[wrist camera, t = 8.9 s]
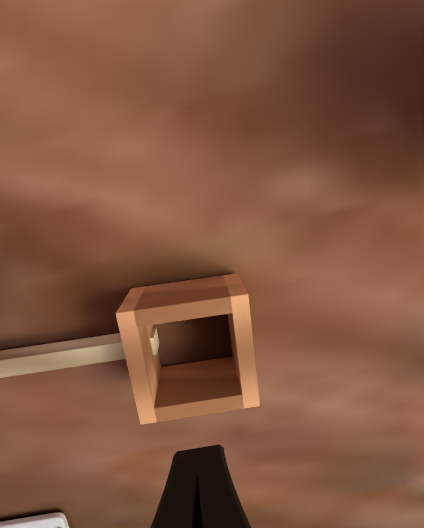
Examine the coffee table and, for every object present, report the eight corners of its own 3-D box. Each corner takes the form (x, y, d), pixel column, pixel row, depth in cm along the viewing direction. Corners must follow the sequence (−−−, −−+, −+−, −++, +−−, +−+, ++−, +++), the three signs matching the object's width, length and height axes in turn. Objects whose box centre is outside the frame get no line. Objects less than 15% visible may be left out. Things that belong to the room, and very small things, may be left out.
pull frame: (247, 365, 18) (262, 414, 14) (-137, 424, 17) (-234, 493, 13) (218, 105, 15) (227, 73, 11) (-268, 166, 14) (-454, 155, 10)
